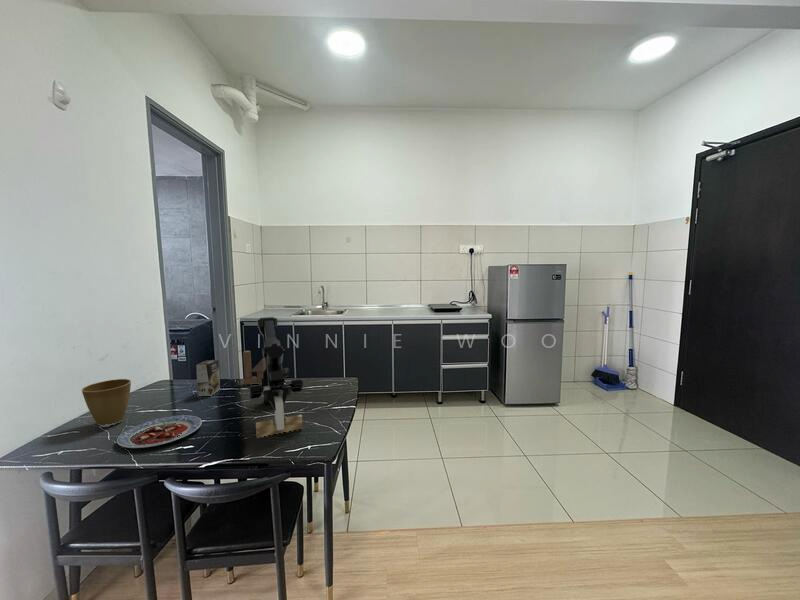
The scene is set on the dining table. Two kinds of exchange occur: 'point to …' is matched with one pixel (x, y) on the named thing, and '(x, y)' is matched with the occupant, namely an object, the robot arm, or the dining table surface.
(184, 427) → the ceramic plate
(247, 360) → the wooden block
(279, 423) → the grey tapered block
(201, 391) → the coffee box
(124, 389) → the plant pot
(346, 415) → the dining table surface
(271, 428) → the notched base plate
